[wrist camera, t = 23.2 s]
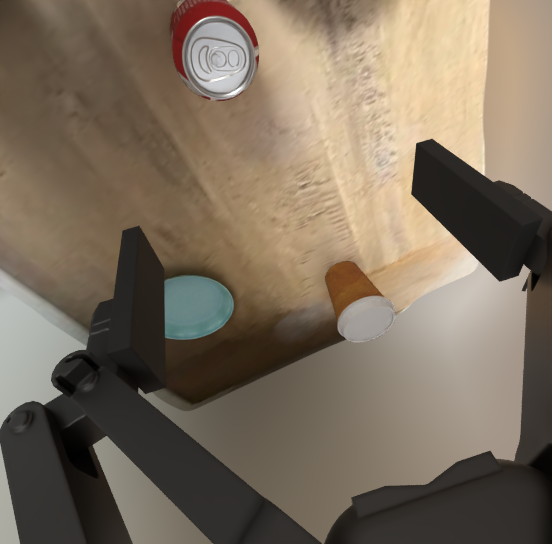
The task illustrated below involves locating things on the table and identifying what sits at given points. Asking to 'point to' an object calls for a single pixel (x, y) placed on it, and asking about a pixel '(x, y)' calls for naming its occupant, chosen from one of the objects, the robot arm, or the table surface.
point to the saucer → (195, 306)
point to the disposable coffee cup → (358, 303)
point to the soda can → (213, 48)
